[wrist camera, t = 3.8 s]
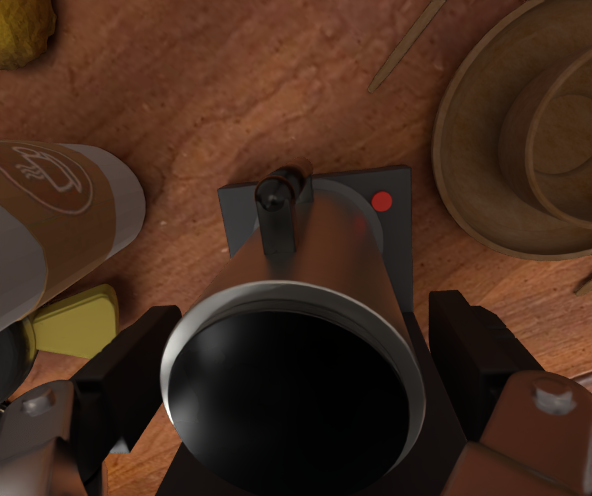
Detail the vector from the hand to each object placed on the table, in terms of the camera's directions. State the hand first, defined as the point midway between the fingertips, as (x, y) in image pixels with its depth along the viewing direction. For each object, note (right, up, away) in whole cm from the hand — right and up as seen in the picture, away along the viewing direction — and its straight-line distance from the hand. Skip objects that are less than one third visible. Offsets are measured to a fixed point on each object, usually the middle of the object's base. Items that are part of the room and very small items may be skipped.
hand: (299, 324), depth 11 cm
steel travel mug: (+1, +3, +7) cm, 8 cm away
